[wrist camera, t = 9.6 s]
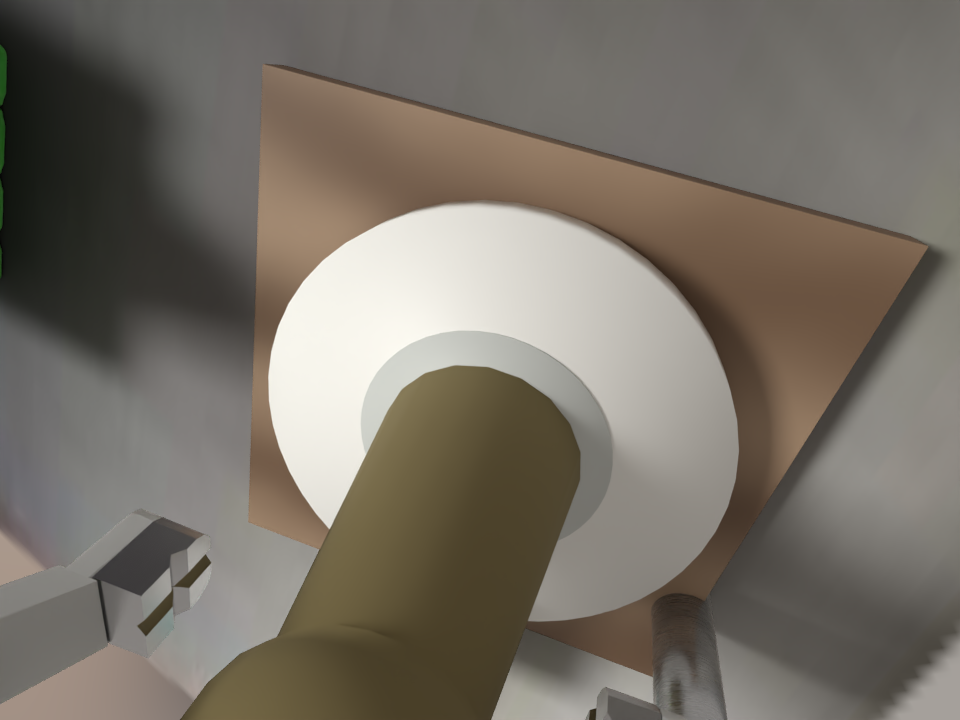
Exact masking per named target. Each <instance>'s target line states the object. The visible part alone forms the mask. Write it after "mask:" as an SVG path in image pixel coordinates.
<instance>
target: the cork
mask: <svg viewBox="0 0 960 720" xmlns="http://www.w3.org/2000/svg"><path fill="white" fill-rule="evenodd" d="M580 460H581V452H580V449H579V447H578V444H577V441H576V438H575V436H574V433H573V430H572V428H571V425H570V423H569V422H568V421H567V419H566V418H565V417H564V416H563V414H562V413H561V412H560V411H559V409H558V408H557V407H556V406H555V404H554V403H553V402H552V401H551V399H550V398H549V397H547V396H546V395H544V394H543V393H542V392H540V391H539V390H537V389H536V388H534V387H533V386H531V385H530V384H529V383H527V382H526V381H524V380H523V379H521V378H519V377H516V376H513V375H510V374H507V373H504V372H501V371H499V370H496V369H493V368H490V367H481V366H461V365H453V366H450V367H446V368H442V369H438V370H434V371H431V372H427V373H424V374H423V375H421V376H420V377H418V378H417V379H416V380H414V381H413V382H411V383H410V384H408V385H407V386H405V387H404V388H403V389H402V390H401V391H400V393H399V394H398V396H397V397H396V399H395V400H394V402H393V403H392V405H391V406H390V408H389V409H388V411H387V413H386V415H385V417H384V419H383V421H382V423H381V425H380V427H379V429H378V431H377V434H376V436H375V438H374V440H373V442H372V444H371V446H370V448H369V450H368V452H367V454H366V456H365V458H364V460H363V462H362V464H361V466H360V468H359V470H358V472H357V474H356V476H355V478H354V481H353V483H352V485H351V487H350V489H349V491H348V493H347V495H346V497H345V499H344V501H343V503H342V505H341V507H340V509H339V511H338V513H337V515H336V517H335V519H334V521H333V523H332V526H331V528H330V530H329V532H328V534H327V536H326V538H325V540H324V542H323V544H322V546H321V548H320V550H319V552H318V554H317V556H316V558H315V560H314V562H313V564H312V566H311V568H310V570H309V573H308V575H307V577H306V579H305V581H304V583H303V585H302V587H301V589H300V591H299V593H298V595H297V597H296V599H295V601H294V603H293V605H292V607H291V609H290V611H289V613H288V615H287V617H286V620H285V622H284V624H283V626H282V628H281V630H280V632H279V634H278V636H277V637H276V638H274V639H271V640H269V641H266V642H264V643H262V644H260V645H258V646H256V647H254V648H252V649H249V650H247V651H245V652H243V653H241V654H239V655H238V656H237V657H236V658H235V659H234V660H233V661H232V662H230V663H229V664H228V665H227V666H226V667H225V668H224V669H223V670H221V671H220V672H219V673H218V674H217V675H216V676H215V677H214V678H212V679H211V680H210V681H209V682H208V683H207V684H206V686H205V687H204V688H203V690H202V691H201V692H200V694H199V695H198V696H197V698H196V699H195V700H194V702H193V703H192V704H191V706H190V707H189V709H188V710H187V711H186V713H185V714H184V715H183V717H182V718H181V719H180V720H491V718H492V716H493V713H494V710H495V708H496V705H497V702H498V700H499V697H500V694H501V692H502V689H503V686H504V683H505V681H506V678H507V675H508V673H509V670H510V667H511V665H512V662H513V659H514V657H515V654H516V651H517V649H518V646H519V643H520V640H521V638H522V635H523V632H524V630H525V627H526V624H527V622H528V619H529V616H530V614H531V611H532V608H533V606H534V603H535V600H536V597H537V595H538V592H539V589H540V587H541V584H542V581H543V579H544V576H545V573H546V571H547V568H548V565H549V563H550V560H551V557H552V554H553V552H554V549H555V546H556V544H557V541H558V538H559V536H560V533H561V530H562V528H563V525H564V522H565V520H566V517H567V514H568V512H569V509H570V506H571V503H572V501H573V498H574V495H575V493H576V490H577V487H578V485H579V482H580Z"/></svg>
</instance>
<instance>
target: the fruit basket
mask: <svg viewBox="0 0 960 720" xmlns="http://www.w3.org/2000/svg"><path fill="white" fill-rule="evenodd" d="M6 81H7V54H6V51H5V49H4V48H3V47H2V46H1V45H0V105H2V104H3V100H4V97H5V95H6ZM4 146H5V123H4V118H3V113H2V110H1V109H0V174H1V170H2V167H3V165H4ZM2 224H3V188H2V184H1V179H0V230H1V228H2ZM1 259H2V250H1V246H0V278H1Z"/></svg>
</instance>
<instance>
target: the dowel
mask: <svg viewBox="0 0 960 720" xmlns="http://www.w3.org/2000/svg"><path fill="white" fill-rule="evenodd" d="M651 618H652V659H653V701H654V705H657V707H659V708H662V709H665V710H667V711H670V712H673V713H676V714H679V715H681V716H684V717H685V718H687V720H727V713H726V706H725V699H724V692H723V684H722V677H721V670H720V663H719V656H718V649H717V642H716V635H715V628H714V620H713V613H712V606H711V599H710V593H709V595H708V596H707V598H706V599H705V601H703V600H701V599H699V598H697V597H695V596H693V595H689V594H684V593H672V594H667V595H664V596H662V597H660V598H659V599H657V600H656V601H655V602H654V604H653V606H652V609H651Z"/></svg>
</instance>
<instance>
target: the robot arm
mask: <svg viewBox="0 0 960 720" xmlns="http://www.w3.org/2000/svg"><path fill="white" fill-rule="evenodd" d="M210 548H211V542H210V536H208V535H206V534H203V533H201V532H198V531H196V530H193V529H191V528H188V527H186V526H183V525H181V524H178V523H176V522H173V521H171V520H168V519H166V518H164V517H161V516H159V515H156V514H153V513H151V512H148V511H146V510H143V509H139V510H137V511H134V512H132V513H130V514H129V515H128V516H127V517H125V518H124V519H123V520H122V521H121V522H119V523H118V524H117V525H116V526H115V527H113V528H112V529H111V530H110V531H109V532H108V533H106V534H105V535H104V536H103V537H102V538H100V539H99V540H98V541H97V542H96V543H95V544H93V545H92V546H91V547H90V548H89V549H87V550H86V551H85V552H84V553H83V554H81V555H80V556H79V557H78V558H77V559H76V560H74V561H73V562H72V563H71V564H70V565H68V566H67V567H63V566H60V565H58V566H55V567H53V568H50V569H47V570H44V571H41V572H38V573H35V574H33V575H30V576H27V577H24V578H21V579H18V580H15V581H12V582H9V583H6V584H4V585H1V586H0V704H1V703H3V702H5V701H7V700H9V699H11V698H12V697H14V696H16V695H18V694H20V693H22V692H23V691H25V690H27V689H29V688H31V687H33V686H35V685H37V684H38V683H40V682H42V681H44V680H46V679H48V678H50V677H51V676H53V675H55V674H57V673H59V672H61V671H62V670H64V669H66V668H68V667H70V666H72V665H74V664H75V663H77V662H79V661H81V660H83V659H85V658H86V657H88V656H90V655H92V654H94V653H96V652H97V651H99V650H101V649H103V648H105V647H107V645H108V643H110V644H112V645H115V646H118V647H120V648H123V649H126V650H128V651H131V652H133V653H136V654H139V655H141V656H144V657H146V658H149V657H150V656H151V655H152V653H153V652H154V651H155V650H156V649H157V648H158V646H159V645H160V644H161V643H162V642H163V641H164V639H165V638H166V637H167V636H168V635H169V634H170V632H171V631H172V630H173V629H174V623H175V616H176V615H178V614H180V613H183V612H185V611H187V610H189V609H191V608H192V606H193V605H194V604H195V603H196V602H197V600H198V599H199V598H200V597H201V595H202V593H203V591H204V589H205V588H206V586H207V584H208V582H209V578H210V574H211V562H210V560H209V559H208V557H207V556H206V553H207V552H208V550H209V549H210ZM585 720H687V718H685V717H684V716H681V715H679V714H676V713H673V712H670V711H667V710H665V709H662V708H659V707H657V705H654V704H651V703H648V702H646V701H643V700H640V699H637V698H635V697H632V696H629V695H626V694H624V693H621V692H618V691H615V690H613V689H610V688H607V687H605V688H603V689H602V690H601V692H600V693H599V695H598V697H597V708H596V709H592V710H590V711H589V713H588V715H587V717H586V719H585Z"/></svg>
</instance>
